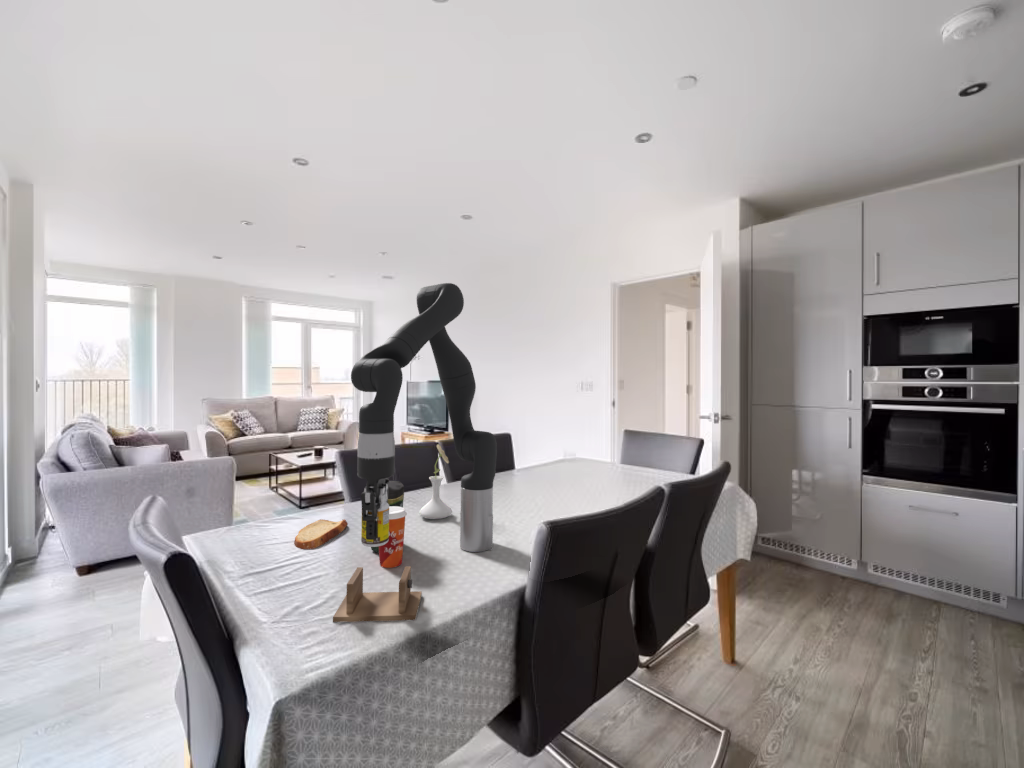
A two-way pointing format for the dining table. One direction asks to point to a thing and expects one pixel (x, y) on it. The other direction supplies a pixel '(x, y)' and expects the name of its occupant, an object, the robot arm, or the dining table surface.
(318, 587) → the dining table surface
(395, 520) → the paper cup
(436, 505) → the flower in vase
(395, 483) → the coffee jar
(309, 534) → the slice of bread
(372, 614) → the holder
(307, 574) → the dining table surface
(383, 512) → the supplement bottle
